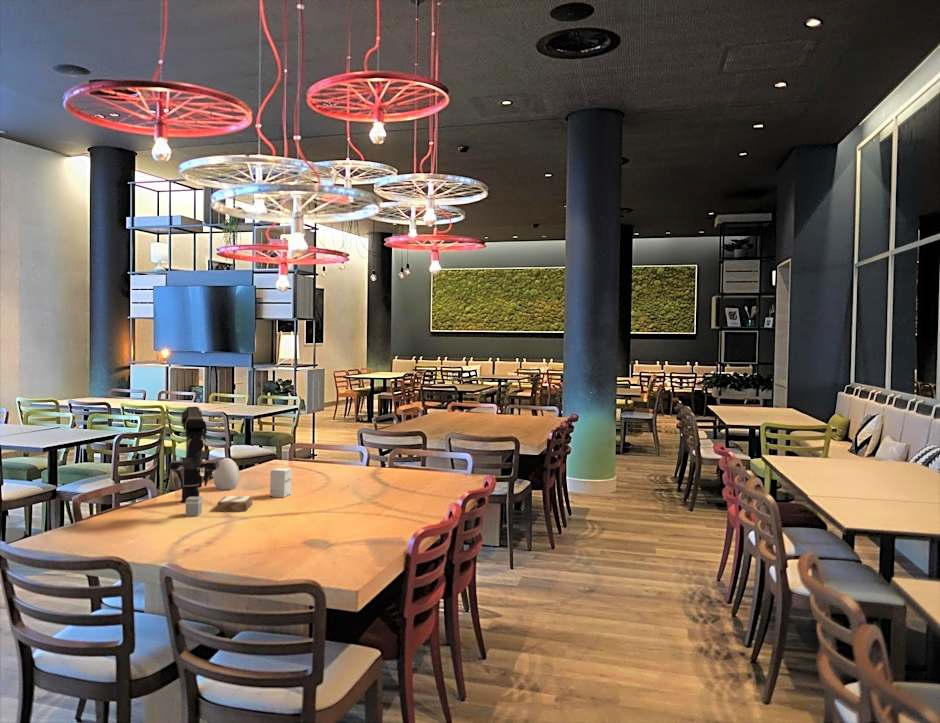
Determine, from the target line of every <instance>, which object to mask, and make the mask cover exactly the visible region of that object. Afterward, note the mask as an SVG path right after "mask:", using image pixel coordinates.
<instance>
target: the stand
mask: <svg viewBox="0 0 940 723" xmlns="http://www.w3.org/2000/svg"><path fill="white" fill-rule="evenodd" d="M216 505H217V512H247V511H248V510H249V509H250V508H251V507H252V506H251V505H253V496H245V495H244V496H243V495H242V496H241V495H239V496H236V495H234V496H233V495H229V496H227V495H226V496H223V498H221V499H220V500H218V502H217V504H216ZM250 506H251V507H250ZM248 508H249V509H248Z"/></svg>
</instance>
